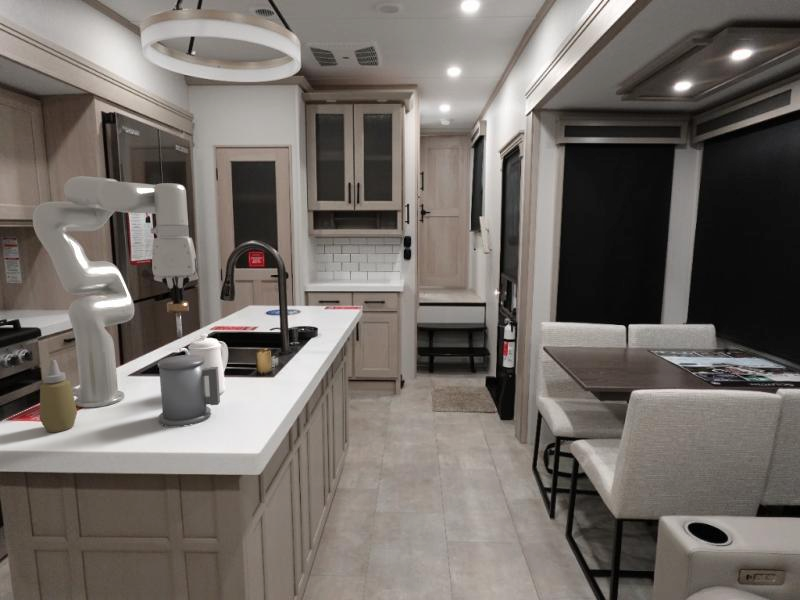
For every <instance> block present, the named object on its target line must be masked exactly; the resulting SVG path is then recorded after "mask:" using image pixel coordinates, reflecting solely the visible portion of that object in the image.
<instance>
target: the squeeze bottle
mask: <svg viewBox="0 0 800 600" xmlns="http://www.w3.org/2000/svg"><path fill="white" fill-rule="evenodd" d="M43 382H44V383H42V384H41V385H40V386H39V387H40V389H39V392H40V393H39V421H40V422H41V424H42V426H43V427H44V430H45V431H46V432H48V433H57V432H64V431H67V430H69V429H72V427H74V425H75V421H76V419H77V414H78V410H77V405H76V404H75V400H76V399H75V396H73V391H72V382H71V381H70V380H68V379H67V377H66V372H64V371H60V368H59V365H58V362H57V360H56V359H51V360H50V361H49V368H48V373H46V374H44V375H43Z"/></svg>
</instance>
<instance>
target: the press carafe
mask: <svg viewBox="0 0 800 600" xmlns="http://www.w3.org/2000/svg"><path fill="white" fill-rule="evenodd" d="M204 362H205V358H204V357H203V356H199V355H186V354H183V355H175V356H169V357H165V358H161V359H160V360H159V361H158V362H157V367H158V368H159V380H160V381H159V382H160V395H161V409H162V411H161V413H160V414H159V415H158V422H159V424H160V425H161V424H163V425H162V426H164V425H166V426H165V427H169V426H180V427H185V426H184V425H188V426H191V425H190V424H193V425H196V424H195V423H197V424H199V422H200V423H202V422H205V421H206V420H208V419H209V418H210V417H211V416H210V415H212V410H211V408H210V407H209V406H207V405H210V406H218V405H219V404H220V402H221V397H220V395H221V394H220V393H219V376H218V367H210V368H204ZM205 376H209V389H210V396H206V390H205Z"/></svg>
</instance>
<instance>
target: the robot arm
mask: <svg viewBox="0 0 800 600" xmlns="http://www.w3.org/2000/svg"><path fill="white" fill-rule="evenodd" d="M63 193H64V195H65V197H66V199H68V200H69V201H48V202H47V201H46V202H43V203H40V204H38V205H37V206H36V207H35V209H34V211H33V215H32V225H33V229H34V232H35V234H36V237H37V239H38V240H39V241H40V242H41V245H42V246H43V247H44V249H45V250H46V252H47V253H48V255H49V256H50V257H49V258H51V261H52V264H53V267H54V269H55V271H56V274H57V276H58V278H59V281H60V283H61V286H62V287H63V289H64V290H65V291H66V292H67V293H68V294H70V295H74V296H77V295H78V296H79V295H80V296H81V295H87V296H83V297H79V298H77V299H75V300H74V301H72V302H71V303H70V305H69V307H68V313H67V314H68V317H69V320H70V324H71V327H72V331H73V334H74V341H75V349H76V350H75V351H76V359H77V367H78V369H77V370H78V380H79V387H78V388H76V387H73V388H72V391H73V396H74V397H76V399H74V400H75V404H76V407H79V408H100V407H104V406H108V405H109V406H110V405H112V404H116V403H118V402H121V401H122V400H124V398H125V393H124V392H123V391H121V390H119V387H118V376H117V366H116V365H117V364H116V352H115V342H114V339H113V337H112V335H111V334H110V333H109V332H108V331H107V329H106V327H109V326H114V325H119V324H124V323H128V322H129V321H131V320H132V319H133V317H134V315H135V303H134V300H133V298H132V296H131V294H130V293H131V292H129V289H128V287H127V284H126V282H125V279H124V277H123V275H122V272H121V271H120V269H119V268H118V267H117V266H116V265H115V264H114V263H112V262H110V261H107V260H98V261H97V260H96V261H91V260H89V258H88V256H87V255H86V253H85V250H84V248H83V247H82V245H81V244H80V243H79V242H78V241H77V240H76V239H75V238H74V237H73V236H71V235H69V234H68V233H67V232H93V231H97V230H100V229H101V228H102V227H104V225H105V224H107V222H108V220H109V219H110V217H111V216H113V214H114V213H115V212H118V213H119V212H120V213H125V214H126V213H129V214H131V213H132V214H155V221H156V222H155V223H156V225H155V227H153V228H152V227H151V229H150V233H151V234H154V235H156V237H154V238H153V241H152V251H151V253H152V254H151V257H152V258H151V259H152V260H151V263H152V264H151V266H152V267H151V268H152V269H151V270H152V274H153V280H154V281H157V282H160V283H164V285H166V286H167V288H169V291H170V293H169V294H170V300H171V301H172V302H173V304H176V303H182V302H183V301H184V300H185V287H186V285H188V283H190V282H192V281H196V280H198V279H199V276H198V262H197V256H196V249H195V245H194V241H193V238H192V237H190V232H189V217H188V215H189V214H188V200H187V199H188V198H187V189H186V187H185V186H184V185H183V184H180V183H170V182H169V183H167V182H166V183H165V182H164V183H163V182H162V183H158V184H150V183H141V182H127V181H119V180H117V179H114V178H107V177H96V176H95V177H94V176H85V175H82V176H81V175H79V176H74V177H71V178H70V179H68V180H67V181H66V183H65V184H64V186H63ZM175 277H177V278H178V279H177V283H176V279H175ZM98 293H101V294H98ZM88 294H89V295H88ZM90 294H95V295H90Z"/></svg>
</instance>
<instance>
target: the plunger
mask: <svg viewBox="0 0 800 600" xmlns="http://www.w3.org/2000/svg"><path fill="white" fill-rule="evenodd" d="M166 310H167V311H166V312H167V313H171V314H175V317H176V318H175V319H176V334H177V335H176V336H177V338H183V325H182V323H183V322H182V313H185V312H189V311H190V307H189V301H184V300H183V302H182V303H176V304H173V301H169V302H166Z"/></svg>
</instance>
